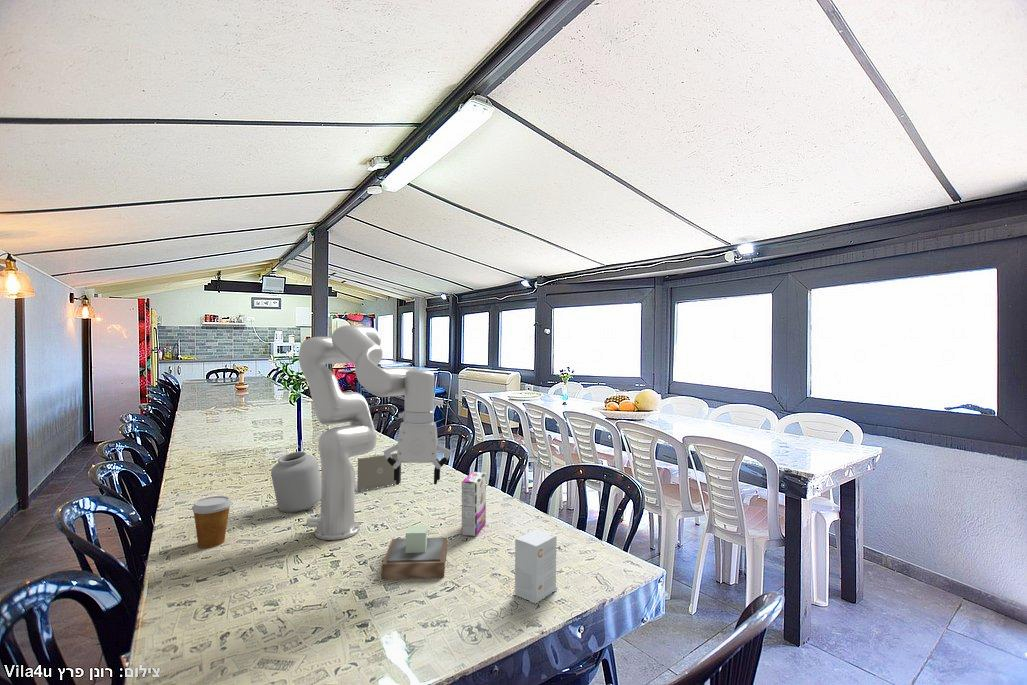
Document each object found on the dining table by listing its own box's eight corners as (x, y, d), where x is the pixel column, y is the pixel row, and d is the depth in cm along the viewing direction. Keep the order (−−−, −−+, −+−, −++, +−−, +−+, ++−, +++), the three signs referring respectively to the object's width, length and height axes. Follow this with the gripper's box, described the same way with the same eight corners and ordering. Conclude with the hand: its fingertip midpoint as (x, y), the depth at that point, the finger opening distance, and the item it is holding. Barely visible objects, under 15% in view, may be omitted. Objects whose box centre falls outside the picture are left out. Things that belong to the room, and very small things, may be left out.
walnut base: (381, 579, 114) (382, 562, 114) (391, 551, 129) (392, 537, 129) (444, 577, 115) (444, 561, 115) (446, 550, 130) (447, 536, 130)
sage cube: (405, 552, 119) (405, 533, 119) (408, 544, 124) (408, 525, 124) (425, 552, 120) (425, 532, 120) (427, 544, 125) (427, 525, 125)
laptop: (388, 477, 200) (388, 447, 200) (401, 484, 191) (401, 452, 191) (346, 485, 189) (346, 452, 189) (357, 492, 179) (357, 458, 179)
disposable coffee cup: (226, 533, 139) (226, 493, 139) (235, 543, 132) (235, 501, 132) (187, 542, 132) (188, 500, 132) (194, 553, 126) (195, 509, 126)
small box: (535, 581, 114) (536, 528, 114) (556, 590, 110) (557, 535, 110) (513, 594, 108) (514, 538, 108) (535, 605, 104) (536, 546, 104)
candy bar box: (471, 522, 151) (471, 471, 151) (486, 523, 150) (486, 472, 150) (460, 535, 140) (461, 480, 140) (476, 537, 139) (477, 482, 139)
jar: (277, 522, 148) (279, 443, 149) (255, 511, 157) (257, 437, 157) (331, 506, 164) (333, 434, 164) (309, 497, 172) (310, 429, 173)
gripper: (382, 419, 118) (380, 487, 118) (451, 420, 119) (449, 487, 119) (387, 414, 125) (385, 478, 125) (452, 415, 127) (450, 478, 127)
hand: (416, 482), depth 122 cm, fingers open, 9 cm apart
